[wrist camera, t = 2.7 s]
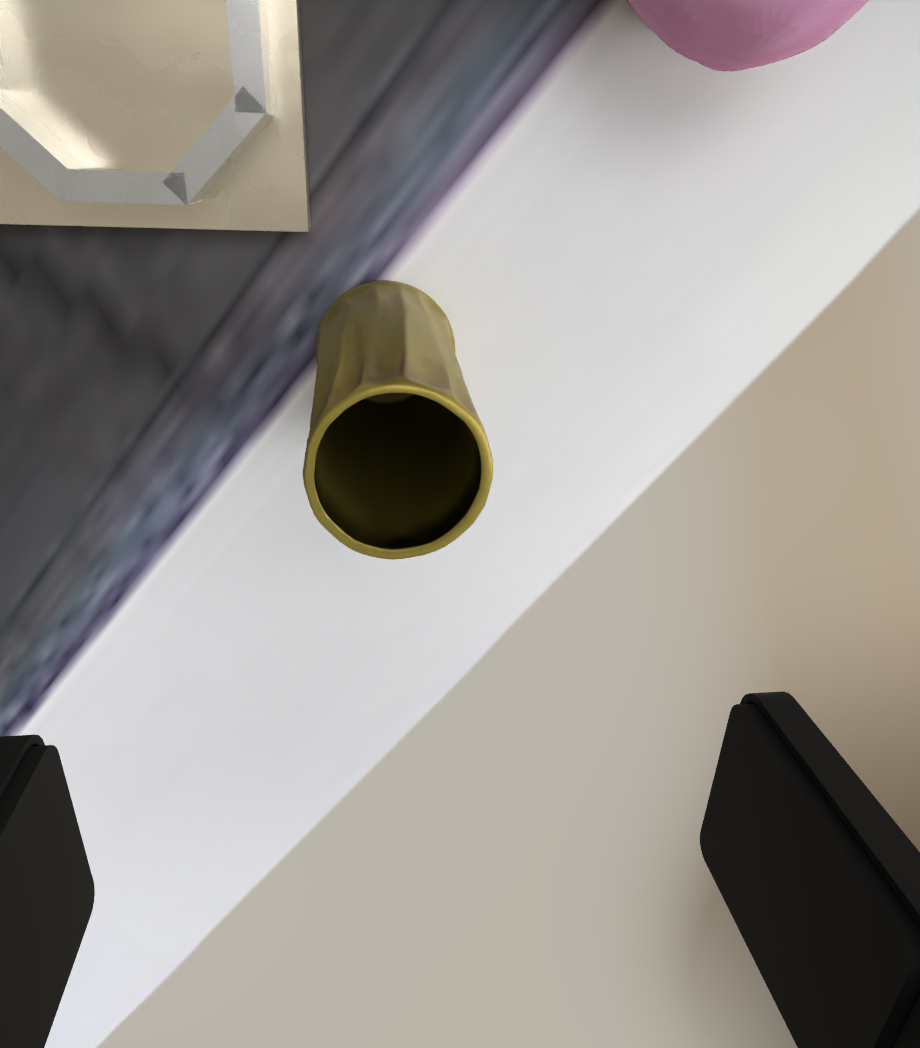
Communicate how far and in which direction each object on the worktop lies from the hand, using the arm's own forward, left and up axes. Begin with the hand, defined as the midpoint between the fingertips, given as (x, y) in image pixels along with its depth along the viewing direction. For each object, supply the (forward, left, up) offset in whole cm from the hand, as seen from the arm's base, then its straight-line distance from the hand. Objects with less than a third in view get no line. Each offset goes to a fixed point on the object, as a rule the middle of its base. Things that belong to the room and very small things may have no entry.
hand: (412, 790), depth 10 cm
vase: (0, 0, -25) cm, 25 cm away
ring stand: (+9, -11, -25) cm, 29 cm away
